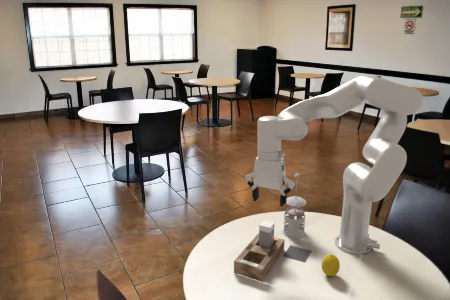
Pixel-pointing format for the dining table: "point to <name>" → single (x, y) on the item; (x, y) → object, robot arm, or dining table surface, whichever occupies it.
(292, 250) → the mat
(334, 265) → the lemon
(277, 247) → the socket block
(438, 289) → the dining table surface
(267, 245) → the plug
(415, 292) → the dining table surface
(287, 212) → the french press
